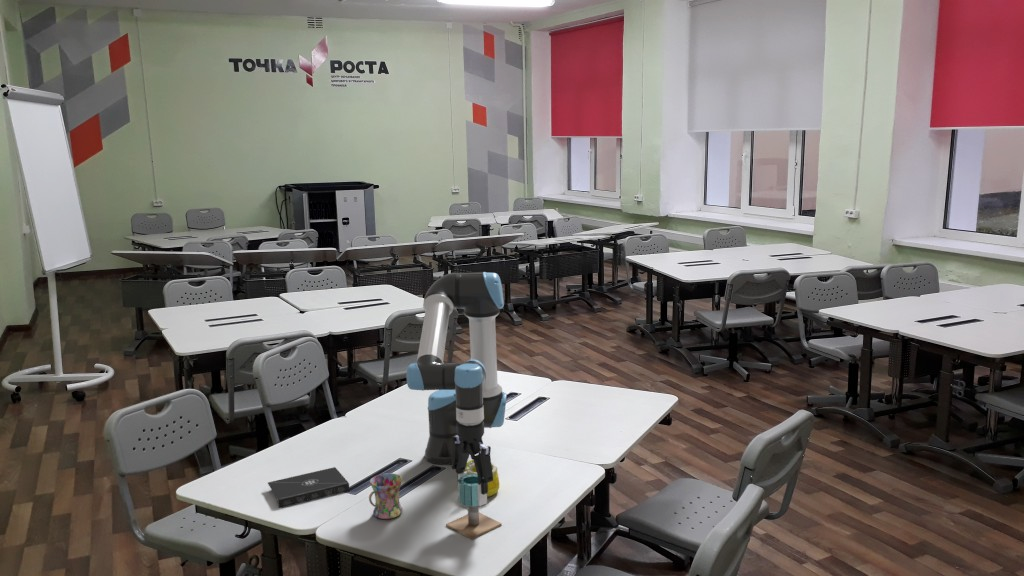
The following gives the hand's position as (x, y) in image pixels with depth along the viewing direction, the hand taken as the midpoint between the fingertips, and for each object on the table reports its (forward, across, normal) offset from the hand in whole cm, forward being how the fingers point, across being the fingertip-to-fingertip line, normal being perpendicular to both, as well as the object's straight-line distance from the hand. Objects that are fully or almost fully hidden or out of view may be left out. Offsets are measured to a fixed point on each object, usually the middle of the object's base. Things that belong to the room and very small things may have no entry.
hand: (472, 499), depth 212 cm
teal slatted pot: (0, 0, 0) cm, 0 cm away
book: (+9, -55, -21) cm, 59 cm away
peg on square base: (+8, 0, 0) cm, 8 cm away
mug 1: (+8, -23, -14) cm, 28 cm away
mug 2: (+8, -15, +15) cm, 23 cm away
